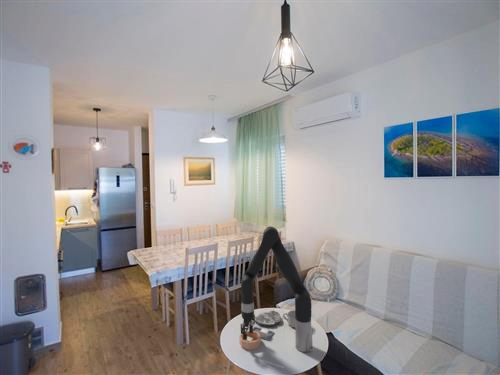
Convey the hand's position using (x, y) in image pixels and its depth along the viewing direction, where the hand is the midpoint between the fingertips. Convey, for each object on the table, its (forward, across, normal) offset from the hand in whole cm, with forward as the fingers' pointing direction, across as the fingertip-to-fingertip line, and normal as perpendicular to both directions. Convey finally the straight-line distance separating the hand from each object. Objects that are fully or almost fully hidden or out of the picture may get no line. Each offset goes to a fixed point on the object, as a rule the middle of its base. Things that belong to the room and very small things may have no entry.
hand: (248, 336), depth 158 cm
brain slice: (+6, +30, 0) cm, 31 cm away
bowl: (+6, +2, 0) cm, 6 cm away
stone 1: (+5, 0, 0) cm, 5 cm away
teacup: (+6, +33, -17) cm, 38 cm away
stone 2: (+5, +12, -5) cm, 14 cm away
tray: (+6, +14, -2) cm, 15 cm away
